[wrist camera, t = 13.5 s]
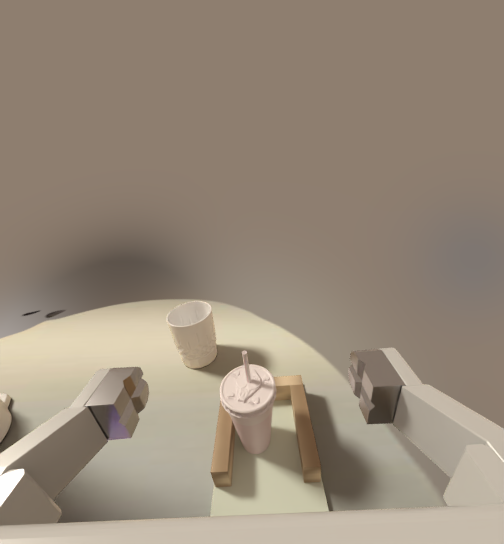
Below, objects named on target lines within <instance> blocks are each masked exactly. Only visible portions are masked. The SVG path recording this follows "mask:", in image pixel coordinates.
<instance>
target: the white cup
mask: <svg viewBox="0 0 504 544" xmlns="http://www.w3.org/2000/svg"><path fill="white" fill-rule="evenodd" d="M166 320H167V323H168V326H169V329H170V331H171V334H172V337H173V339H174V342H175V345H176V347H177V349H178V352H179V354H180V356H181V359H182V361H183V363H184V364H185V366H187V367H189V368H192V369H194V368H202V367H204V366H207V365H209V364H210V363H211V362H212V361H213V360H214V359H215V357H216V355H217V346H216V334H215V327H214V321H213V314H212V308H211V306H210V304H208V303H207V302H204V301H191V302H186V303H183V304H181V305H179V306H177V307H175V308H174V309H172V310H171V311H170V312H169V313H168V315H167V318H166Z"/></svg>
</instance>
